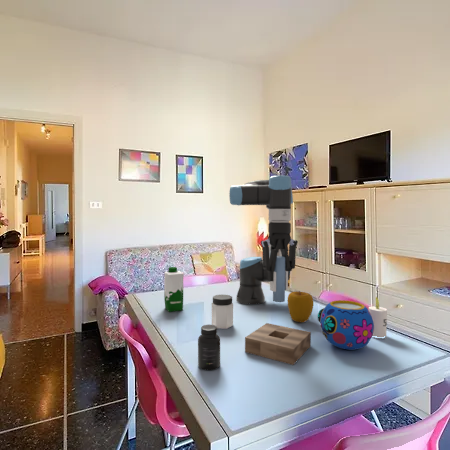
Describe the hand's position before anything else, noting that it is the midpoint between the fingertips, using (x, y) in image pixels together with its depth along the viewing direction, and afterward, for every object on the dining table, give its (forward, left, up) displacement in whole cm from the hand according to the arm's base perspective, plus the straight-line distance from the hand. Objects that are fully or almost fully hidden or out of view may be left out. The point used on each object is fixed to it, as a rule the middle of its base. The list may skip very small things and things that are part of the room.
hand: (278, 289), depth 109 cm
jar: (-9, -29, -21) cm, 37 cm away
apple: (-33, -4, -21) cm, 39 cm away
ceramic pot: (-15, +19, -21) cm, 32 cm away
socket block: (0, 0, -21) cm, 21 cm away
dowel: (0, 0, -4) cm, 4 cm away
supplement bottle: (+23, -13, -21) cm, 33 cm away
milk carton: (-15, -61, -21) cm, 66 cm away
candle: (-32, +27, -21) cm, 47 cm away
